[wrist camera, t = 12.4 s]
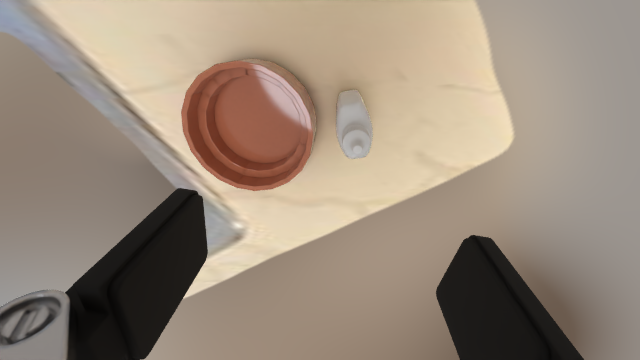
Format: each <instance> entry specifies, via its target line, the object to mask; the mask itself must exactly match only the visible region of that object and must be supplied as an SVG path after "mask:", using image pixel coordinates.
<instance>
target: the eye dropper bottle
mask: <svg viewBox="0 0 640 360" xmlns="http://www.w3.org/2000/svg"><path fill="white" fill-rule="evenodd" d="M336 132H337V138H338V142H339V144H340V147H341V149H342V151H343V152H344V154H345V155H346V156H347V157H348V158H350V159H355V158H362V157H365V156H366V155H367V154H368V153H369V150H370V147H371V144H372V137H373V131H372V123H371V119H370V116H369V113H368V111H367V108H366V106H365V103H364V101H363V99H362V97H361V95H360V93H359V92H358V91H357V90H348V91H343V92H341V93H340V94H339V97H338V100H337V111H336Z"/></svg>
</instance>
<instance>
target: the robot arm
mask: <svg viewBox="0 0 640 360" xmlns="http://www.w3.org/2000/svg"><path fill="white" fill-rule="evenodd" d="M207 254H208V250H207V239H206V228H205V217H204V206H203V198H202V196H199V195H198V192H197V191H194V190H188V189H182V188H178V189H177V190H175V191H174V192H173V193H172V194H171V195H170V196H169V197H168V198H167V199H166V200H165V201H163V202H162V203H161V204H160V205H159V206H158V207H157V208H156V209H155V210H154V211H153V212H151V213H150V214H149V215H148V216H147V217H146V218H145V219H144V220H143V221H142V222H141V223H140V224H138V225H137V226H136V227H135V228H134V229H133V230H132V231H131V232H130V233H129V234H128V235H126V236H125V237H124V238H123V239H122V240H121V241H120V242H119V243H118V244H117V245H116V246H115V247H113V248H112V249H111V250H110V251H109V252H108V253H107V254H106V255H105V256H104V257H103V258H102V259H100V260H99V261H98V262H97V263H96V264H95V265H94V266H93V267H92V268H91V269H89V270H88V271H87V272H86V273H85V274H84V275H83V276H82V277H81V278H80V279H79V280H77V282H75V283H74V284H73V286H72V287H71V288H70V289H69V290H68V291H66V292H65V293H64V292H62V291H58V290H42V291H37V292H33V293H29V294H26V295H24V296H21V297H19V298H16V299H14V300H12V301H10V302H8V303H6V304H5V305H3V306H1V307H0V360H140V359H145V358H146V357H147V356H148V354H149V353H150V352H151V350H152V348H153V347H154V345H155V343H156V342H157V340H158V338H159V337H160V335H161V333H162V332H163V330H164V328H165V326H166V325H167V323H168V322H169V320H170V318H171V317H172V315H173V314H174V312H175V310H176V309H177V307H178V305H179V304H180V302H181V300H182V299H183V297H184V296H185V294H186V292H187V291H188V289H189V287H190V286H191V284H192V282H193V281H194V279H195V277H196V276H197V274H198V272H199V271H200V269H201V267H202V266H203V264H204V263H205V261H206V258H207ZM436 296H437V300H438V302H439V305H440V308H441V310H442V313H443V316H444V318H445V321H446V323H447V326H448V328H449V332H450V334H451V337H452V340H453V342H454V345H455V347H456V350H457V353H458V355H459V358H460V360H584V359H583V358H582V356H581V355H580V354H579V353H578V351H577V350H576V348H575V347H574V346H573V345H572V343H571V342H570V341H569V339H568V338H567V337H566V335H565V334H564V333H563V331H562V330H561V329H560V328H559V326H558V325H557V324H556V322H555V321H554V320H553V318H552V317H551V316H550V314H549V313H548V312H547V311H546V309H545V308H544V307H543V305H542V304H541V303H540V301H539V300H538V299H537V297H536V296H535V295H534V294H533V292H532V291H531V290H530V288H529V287H528V286H527V284H526V283H525V282H524V281H523V279H522V278H521V276H520V275H519V274H518V272H517V271H516V270H515V269H514V267H513V266H512V265H511V263H510V262H509V261H508V259H507V258H506V257H505V255H504V254H503V253H502V252H501V250H500V249H499V248H498V246H497V245H496V244H495V242H494V241H493V240H492V239H491V238H488V237H481V236H475V235H471V236H470V237H469V238H466V239H464V240H463V242H462V244H461V246H460V247H459V249H458V251H457V253H456V255H455V256H454V258H453V260H452V262H451V264H450V265H449V267H448V269H447V271H446V273H445V274H444V276H443V278H442V280H441V282H440V284H439V286H438V287H437V291H436Z"/></svg>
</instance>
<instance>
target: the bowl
mask: <svg viewBox="0 0 640 360" xmlns="http://www.w3.org/2000/svg"><path fill="white" fill-rule="evenodd" d="M181 114H182V125H183V133H184V135H185V137H186V140H187V142H188V145H189V147H190V150H191V152H192V153H193V154H194V156H195V157H196V158H197V159H198V161H199V162H200V163H201V165H202V166H203V167H204V168H205V169H206V170H207V171H209V172H210V173H211V174H213V175H214V176H215V177H216V178H218V179H219V180H221V181H223V182H225V183H228V184H230V185H232V186H234V187H237V188H241V189H247V190H253V191H258V190H268V189H274V188H276V187H278V186H281V185H283V184H285V183H288V182H289V181H291V180H292V179H293V178H294V177H295V176H296V175H297V174H298V173H299V172H301V170H302V169H303V167H304V165H305V164H306V162H307V160H308V158H309V156H310V154H311V150H312V146H313V143H314V138H315V131H316V125H317V122H316V116H315V110H314V105H313V103H312V101H311V99H310V97H309V95H308V93H307V91H306V89H305V88H304V86H303V85H302V84H301V83H300V82H299V81H298V79H297V78H296V77H295V76H294V75H293V74H292V73H291V72H289V71H288V70H286V69H284V68H282V67H280V66H279V65H277V64H275V63H273V62H270V61H265V60H259V59H254V58H250V59H244V60H237V61H232V62H226V63H220V64H216V65H214V66H212V67H211V68H209V69H207V70H206V71H204V72H203V73H201V74H199V75H198V76H197V77H196V79H195V80H194V82H193V83H192V84H191V86H190V87H189V89H188V90H187V92H186V95H185V99H184V103H183V107H182V112H181Z"/></svg>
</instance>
